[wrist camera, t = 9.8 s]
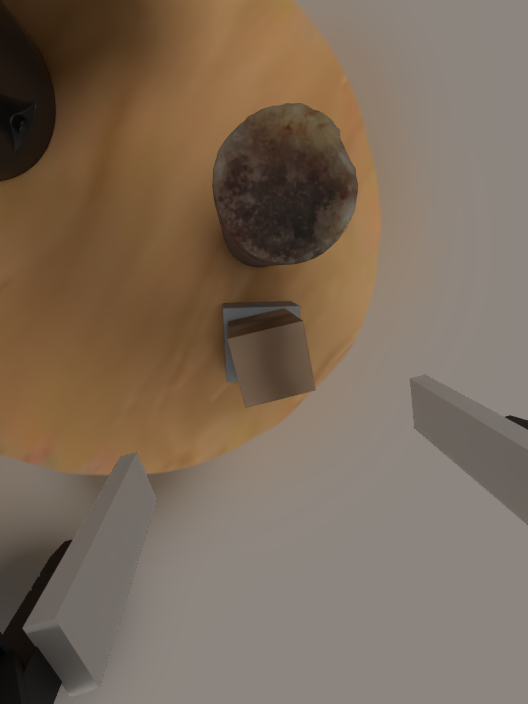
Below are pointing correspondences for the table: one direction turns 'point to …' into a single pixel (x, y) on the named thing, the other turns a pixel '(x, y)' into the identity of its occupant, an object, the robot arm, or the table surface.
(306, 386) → the walnut block
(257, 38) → the table surface
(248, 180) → the candle
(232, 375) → the base block
